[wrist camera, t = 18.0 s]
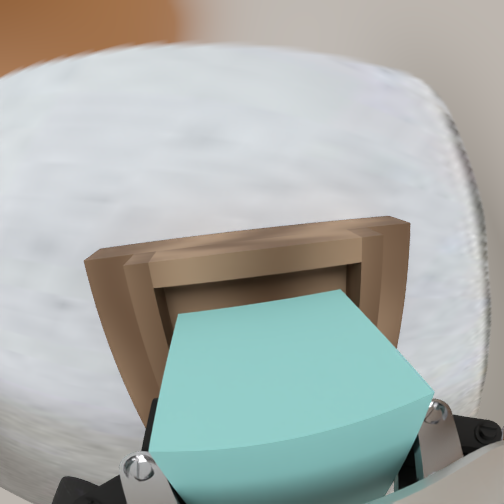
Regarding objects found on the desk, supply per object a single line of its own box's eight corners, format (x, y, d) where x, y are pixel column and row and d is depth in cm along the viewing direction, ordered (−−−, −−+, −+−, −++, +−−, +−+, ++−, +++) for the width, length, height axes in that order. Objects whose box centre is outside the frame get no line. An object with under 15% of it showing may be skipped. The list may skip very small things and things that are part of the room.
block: (209, 422, 12) (213, 534, 6) (178, 314, 10) (148, 450, 4) (335, 400, 12) (382, 499, 6) (340, 289, 11) (434, 391, 5)
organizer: (179, 464, 18) (177, 503, 14) (99, 248, 13) (63, 276, 9) (359, 437, 19) (376, 471, 16) (389, 215, 14) (436, 231, 10)
